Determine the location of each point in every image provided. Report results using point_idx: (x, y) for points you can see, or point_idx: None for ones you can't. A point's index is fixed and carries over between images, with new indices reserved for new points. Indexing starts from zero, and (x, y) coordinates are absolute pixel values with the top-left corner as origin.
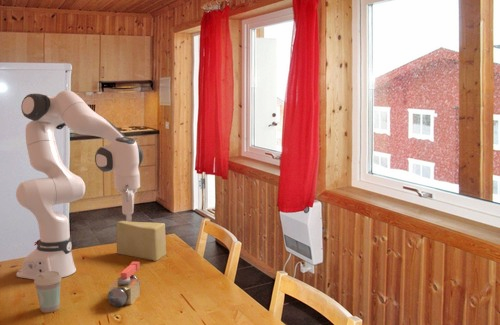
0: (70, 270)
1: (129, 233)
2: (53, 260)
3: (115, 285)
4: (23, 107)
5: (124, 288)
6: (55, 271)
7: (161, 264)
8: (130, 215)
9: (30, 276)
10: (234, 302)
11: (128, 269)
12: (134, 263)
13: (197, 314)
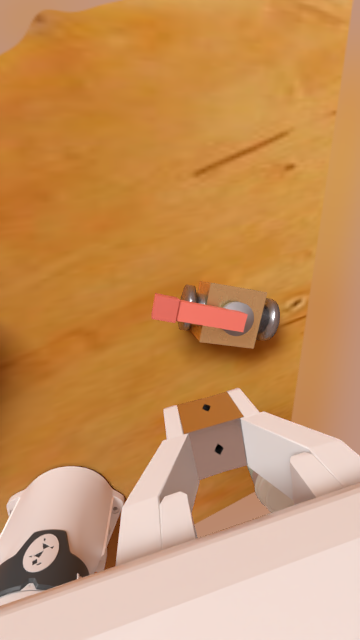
0: (78, 477)
1: None
2: (97, 536)
3: (246, 334)
4: None
5: (262, 308)
6: (270, 489)
7: None
8: (282, 426)
9: (111, 534)
10: (257, 7)
11: (219, 316)
12: (172, 309)
13: (308, 125)
